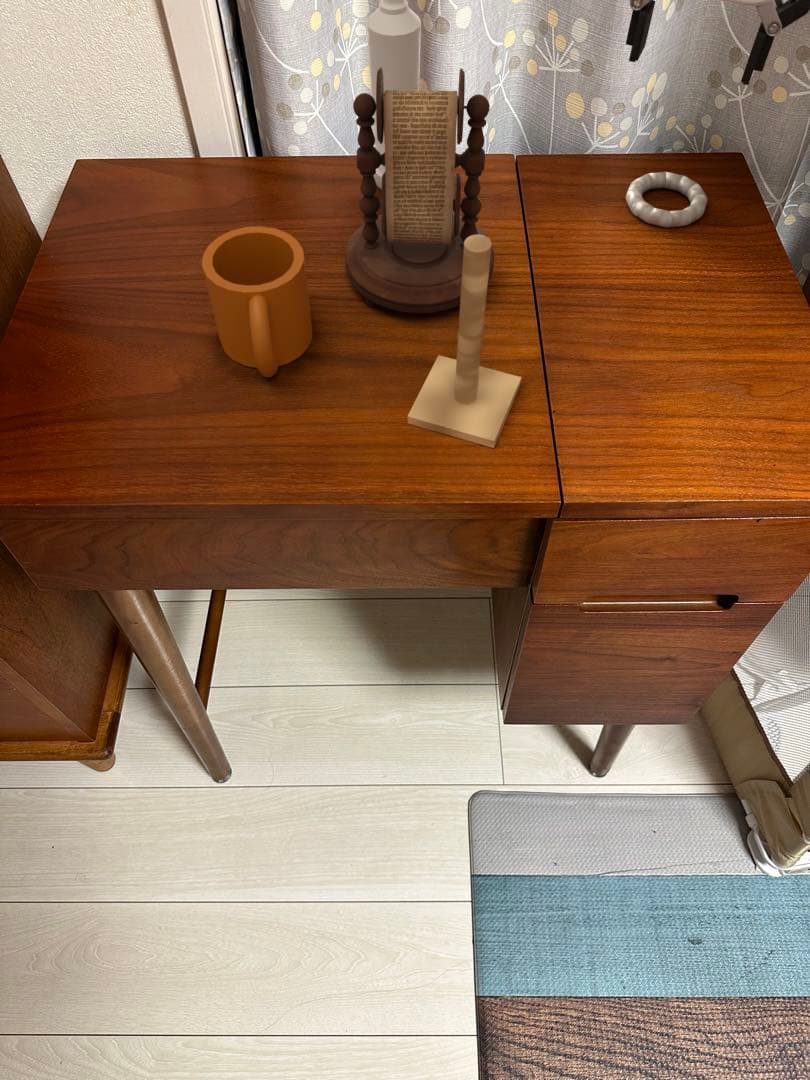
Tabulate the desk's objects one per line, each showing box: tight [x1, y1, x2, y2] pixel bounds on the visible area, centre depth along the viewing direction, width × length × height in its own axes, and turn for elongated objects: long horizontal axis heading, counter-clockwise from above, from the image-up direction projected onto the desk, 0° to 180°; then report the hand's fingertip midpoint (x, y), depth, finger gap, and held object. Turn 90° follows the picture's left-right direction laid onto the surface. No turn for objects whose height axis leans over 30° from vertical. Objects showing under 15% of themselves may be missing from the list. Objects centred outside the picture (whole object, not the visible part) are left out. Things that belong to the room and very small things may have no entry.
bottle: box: [366, 0, 422, 191], centre depth 80 cm, size 5×5×25 cm
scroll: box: [344, 67, 495, 314], centre depth 74 cm, size 15×15×20 cm
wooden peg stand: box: [407, 235, 522, 449], centre depth 66 cm, size 8×8×17 cm
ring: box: [625, 171, 708, 229], centre depth 87 cm, size 8×8×2 cm
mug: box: [201, 225, 313, 378], centre depth 73 cm, size 9×12×9 cm
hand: (691, 65), depth 70 cm, fingers open, 9 cm apart
